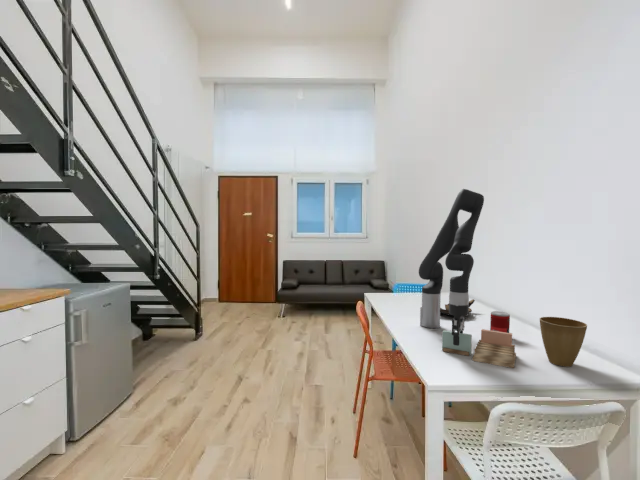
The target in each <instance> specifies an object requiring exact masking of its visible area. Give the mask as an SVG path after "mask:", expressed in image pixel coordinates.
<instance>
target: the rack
mask: <svg viewBox="0 0 640 480" xmlns="http://www.w3.org/2000/svg"><path fill="white" fill-rule="evenodd" d="M515 350H516V345H515V344H512V347H508V346H502V345H496V344H490V343H483V342H481V339H479V340H478V341H477V343H476V345H475V348H474V354H473V355H472V361H474V362H479V363H484V364H490V365H495V366H500V367H504V368H505V367H506V368H509V369H510V368H511V369H515V363H516V358H517V352H516V351H515Z"/></svg>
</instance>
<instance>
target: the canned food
mask: <svg viewBox="0 0 640 480" xmlns="http://www.w3.org/2000/svg"><path fill="white" fill-rule="evenodd" d="M510 320H511V314H510V313H509V312H505V311H497V310H494V311H490V326H489V327H490V328H489V330H492V331H499V332H506V333H510V325H511V324H510Z"/></svg>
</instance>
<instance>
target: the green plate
mask: <svg viewBox="0 0 640 480" xmlns="http://www.w3.org/2000/svg"><path fill="white" fill-rule="evenodd" d="M455 332H456V333H457V331H455ZM441 337H442V339H441V340H442V341H441V351H443V347H444V348H450V349H455V350H461V351H467V352H469V356H472V343H473V342H472V340H473V338H472V337H473V336H472V334H470V333H464V332H463V333H460V336H459V346H457V345H453V335H452V330H451V331H450V330H445V329H444V330H442V336H441Z"/></svg>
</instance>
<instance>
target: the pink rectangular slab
mask: <svg viewBox="0 0 640 480" xmlns="http://www.w3.org/2000/svg"><path fill="white" fill-rule="evenodd" d="M480 333H481V334H480V340H481V342H483V343H490V344H496V345H502V346H508V347H512V345H513V333H512V332H509V333H506V332H499V331H492V330H490V329H485V328H484V329H483V328H482V329H481V332H480Z"/></svg>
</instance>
